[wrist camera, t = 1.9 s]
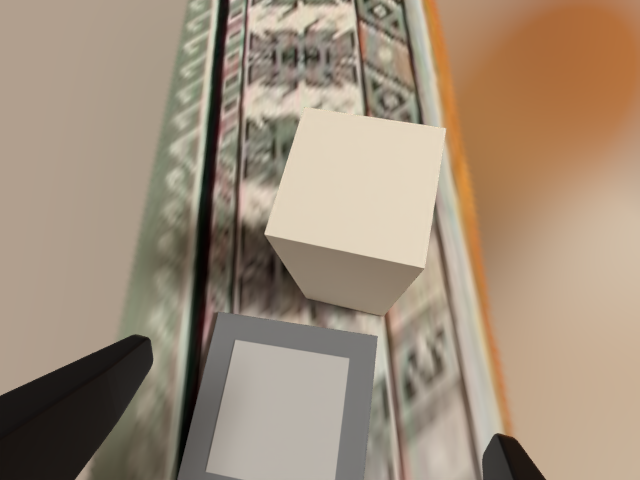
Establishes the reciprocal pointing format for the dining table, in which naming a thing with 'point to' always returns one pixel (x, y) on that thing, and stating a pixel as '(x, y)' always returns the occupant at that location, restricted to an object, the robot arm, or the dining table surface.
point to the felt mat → (281, 403)
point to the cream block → (356, 207)
